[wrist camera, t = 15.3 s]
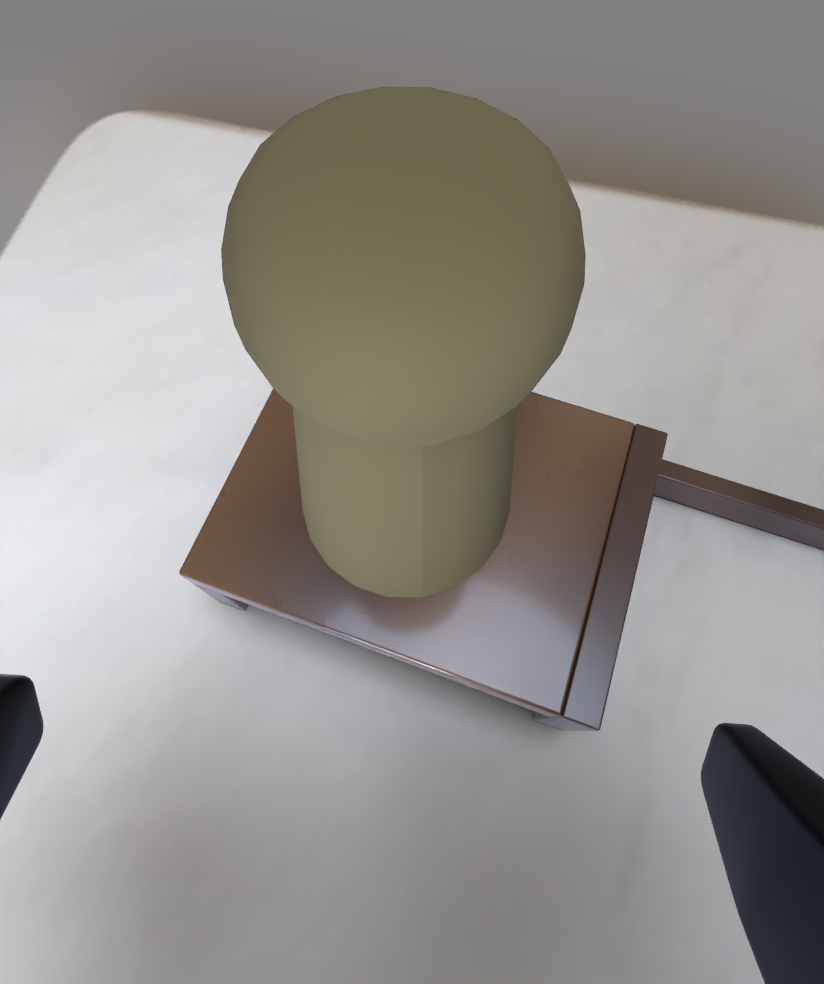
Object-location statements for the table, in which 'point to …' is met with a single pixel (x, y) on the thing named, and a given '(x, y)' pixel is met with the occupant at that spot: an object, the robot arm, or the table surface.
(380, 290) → the olive green pawn
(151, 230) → the table surface
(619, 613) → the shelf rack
